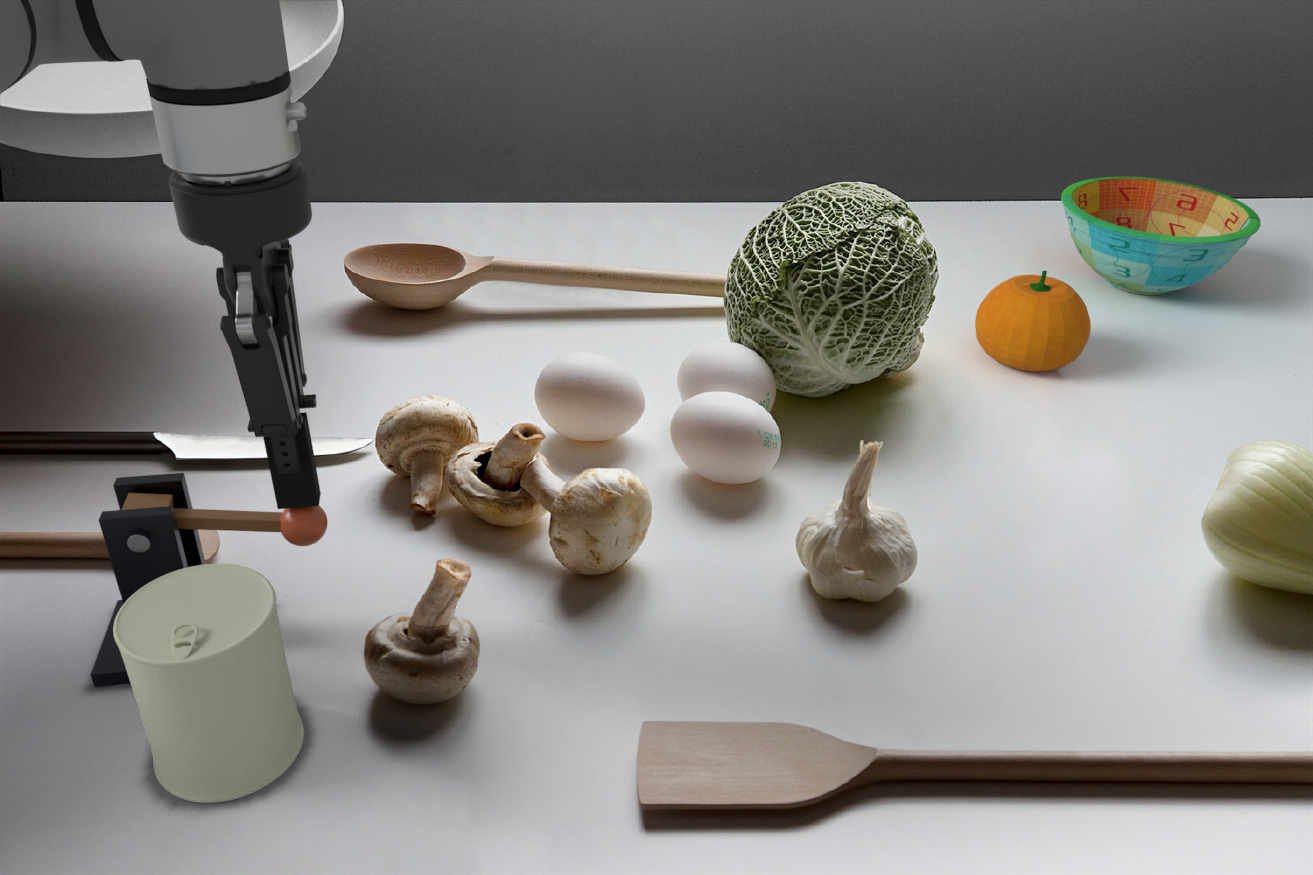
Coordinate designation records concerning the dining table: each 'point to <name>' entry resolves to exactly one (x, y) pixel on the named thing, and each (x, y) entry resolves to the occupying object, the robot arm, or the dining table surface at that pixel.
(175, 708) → the can
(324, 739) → the dining table surface
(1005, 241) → the dining table surface
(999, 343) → the fruit
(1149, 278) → the bowl
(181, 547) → the bracket
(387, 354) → the dining table surface
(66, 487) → the dining table surface
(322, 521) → the lever
